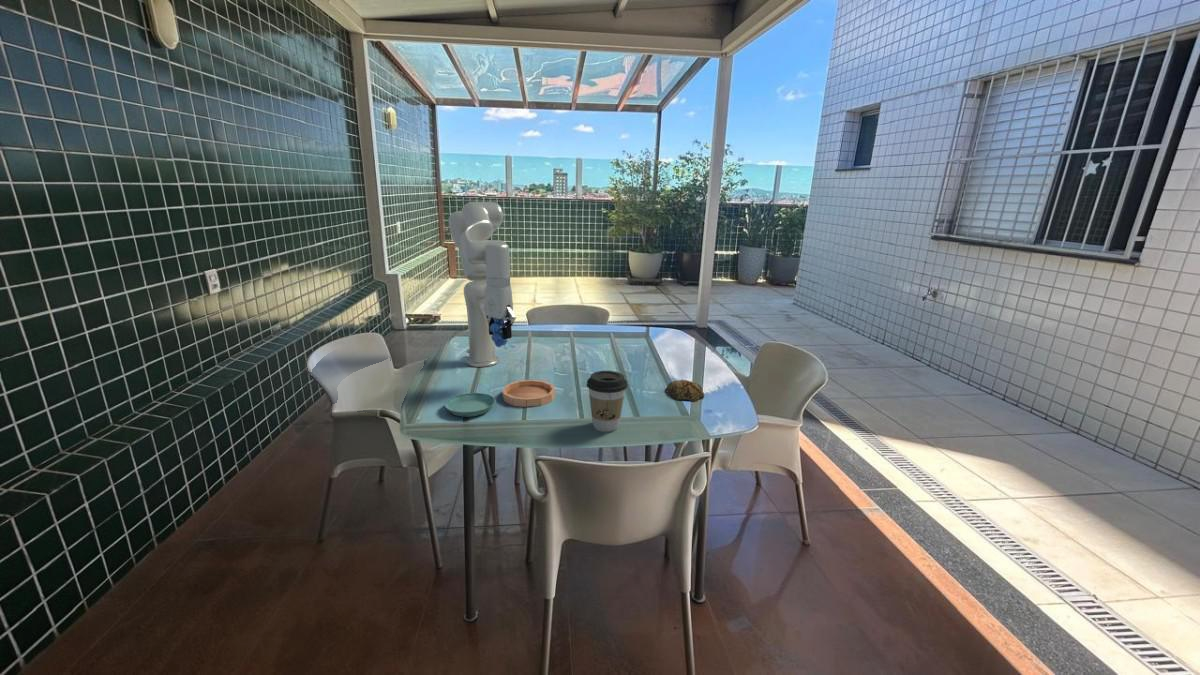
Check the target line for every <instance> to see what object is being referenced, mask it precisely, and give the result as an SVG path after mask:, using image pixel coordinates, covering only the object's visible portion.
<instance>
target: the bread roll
mask: <svg viewBox="0 0 1200 675" xmlns="http://www.w3.org/2000/svg"><path fill="white" fill-rule="evenodd" d="M666 392H667V394H668V395H669V396H671V397H672V398H673V399H674V398H675V400H677V399H678V400H679V401H684V400H685V401H690V402H694V401H695V402H699V401H700V400H701V399H704V398H705V392H704V391H703V387H702V386H701V384H699V382H696V381H690V380H687V379H676V380H672V381H671V382H669V383H668V384H667V386H666ZM700 398H701V399H700ZM678 400H677V401H678ZM698 400H699V401H698Z"/></svg>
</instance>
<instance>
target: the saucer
mask: <svg viewBox="0 0 1200 675" xmlns="http://www.w3.org/2000/svg"><path fill="white" fill-rule="evenodd" d="M495 403H496V398H495V397H494V396H492V395H491V394H487V393H481V392H471V393H470V392H469V393H468V392H467V393H462V394H458V395H455V396H452V397H450V398H447V400H445V402H444V407H445V409H446V410H447V411H448V412H450V413H451V414H453V415H455V416H457V417H461V416H462V417H463V418H467V417H468V418H472V417H471V416H473V417H476V416H477V417H478V416H481V415H484V414H486V413H487V412H488V411H490V410H491V409H492V407H493V406H494V405H495ZM462 417H461V418H462Z"/></svg>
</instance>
